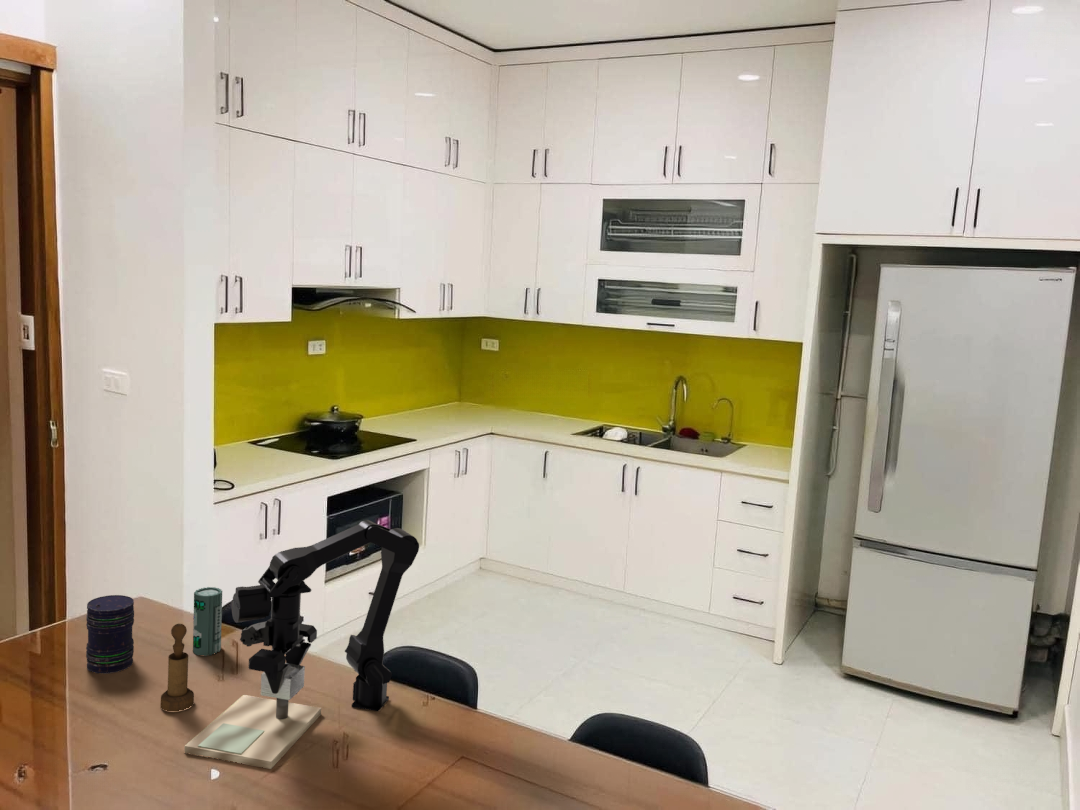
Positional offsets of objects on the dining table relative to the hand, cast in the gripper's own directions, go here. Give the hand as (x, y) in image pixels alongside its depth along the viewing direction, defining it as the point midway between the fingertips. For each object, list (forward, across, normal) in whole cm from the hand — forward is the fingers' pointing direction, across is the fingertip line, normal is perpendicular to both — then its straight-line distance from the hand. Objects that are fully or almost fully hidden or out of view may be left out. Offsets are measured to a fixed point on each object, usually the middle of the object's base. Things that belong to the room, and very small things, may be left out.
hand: (282, 686), depth 178 cm
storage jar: (+8, -12, -49) cm, 51 cm away
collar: (+1, 0, 0) cm, 1 cm away
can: (+8, -26, -33) cm, 43 cm away
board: (+8, +5, -3) cm, 10 cm away
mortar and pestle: (+8, 0, -24) cm, 25 cm away
